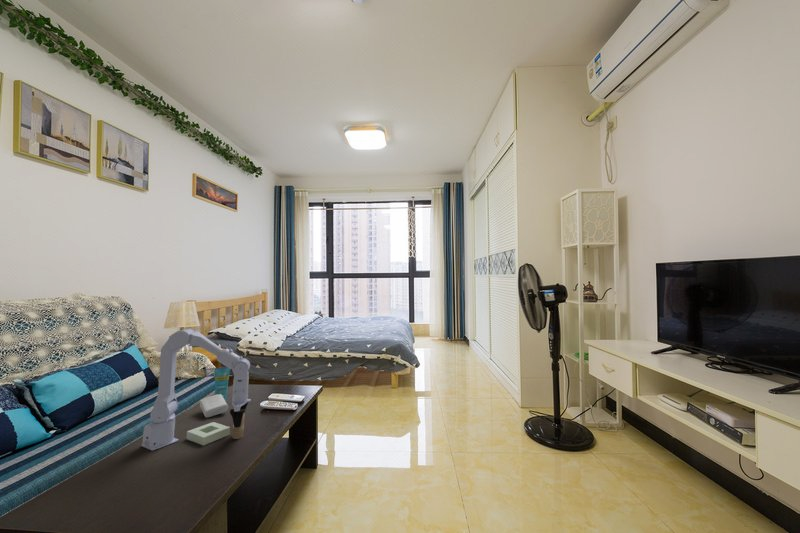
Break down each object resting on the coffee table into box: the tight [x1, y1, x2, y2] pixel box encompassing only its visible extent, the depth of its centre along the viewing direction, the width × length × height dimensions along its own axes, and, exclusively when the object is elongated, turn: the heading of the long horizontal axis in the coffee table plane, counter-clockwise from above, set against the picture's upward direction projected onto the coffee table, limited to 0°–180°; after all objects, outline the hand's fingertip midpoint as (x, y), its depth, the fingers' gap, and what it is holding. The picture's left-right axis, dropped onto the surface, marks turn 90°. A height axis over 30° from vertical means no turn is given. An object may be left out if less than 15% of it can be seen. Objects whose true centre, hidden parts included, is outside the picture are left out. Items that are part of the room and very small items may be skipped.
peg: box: [232, 412, 246, 440], centre depth 135 cm, size 4×4×9 cm
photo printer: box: [199, 394, 229, 419], centre depth 159 cm, size 10×4×12 cm
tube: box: [213, 366, 231, 401], centre depth 169 cm, size 7×5×19 cm, turn 123°
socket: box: [186, 421, 231, 446], centre depth 134 cm, size 11×11×3 cm
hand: (238, 423), depth 135 cm, fingers open, 7 cm apart
